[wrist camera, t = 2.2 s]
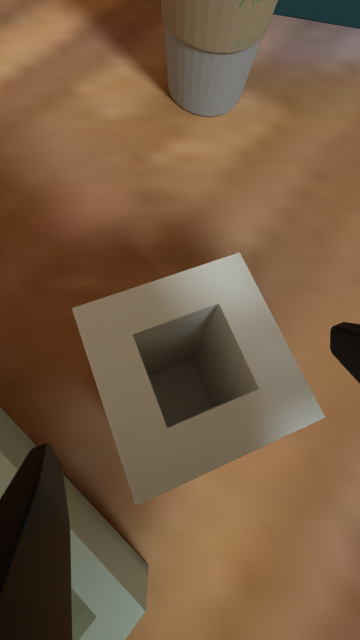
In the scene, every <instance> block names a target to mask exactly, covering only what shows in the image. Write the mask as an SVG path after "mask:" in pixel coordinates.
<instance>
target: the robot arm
mask: <svg viewBox="0 0 360 640" xmlns="http://www.w3.org/2000/svg"><path fill="white" fill-rule="evenodd" d="M330 349H331V352H332V354H333V355H334V356H335V357H336V358H337V359H338V360H339V362H340V363H341V364H342V365H343V366H344V367H345V368H346V369H347V370H348V371H349V372H350V373H351V375H352V376H353V377H354V378H355V379H356V380H357V381H358V382H359V383H360V324H353V323H347V322H343V323H340V324H337V325H335V326H333V327H332V328H331V333H330ZM0 640H72V594H71V539H70V522H69V513H68V506H67V498H66V491H65V483H64V476H63V469H62V465H61V463H60V461H59V459H58V458H57V456H56V454H55V453H54V451H53V450H52V448H51V446H50V445H49V444H48V443H44V444H41V445H39V446H36V447H34V448H32V449H31V450H30V451H29V453H28V454H27V456H26V458H25V459H24V461H23V463H22V464H21V466H20V467H19V469H18V471H17V472H16V474H15V475H14V477H13V479H12V480H11V482H10V484H9V485H8V487H7V488H6V490H5V492H4V493H3V495H2V496H1V498H0Z"/></svg>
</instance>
